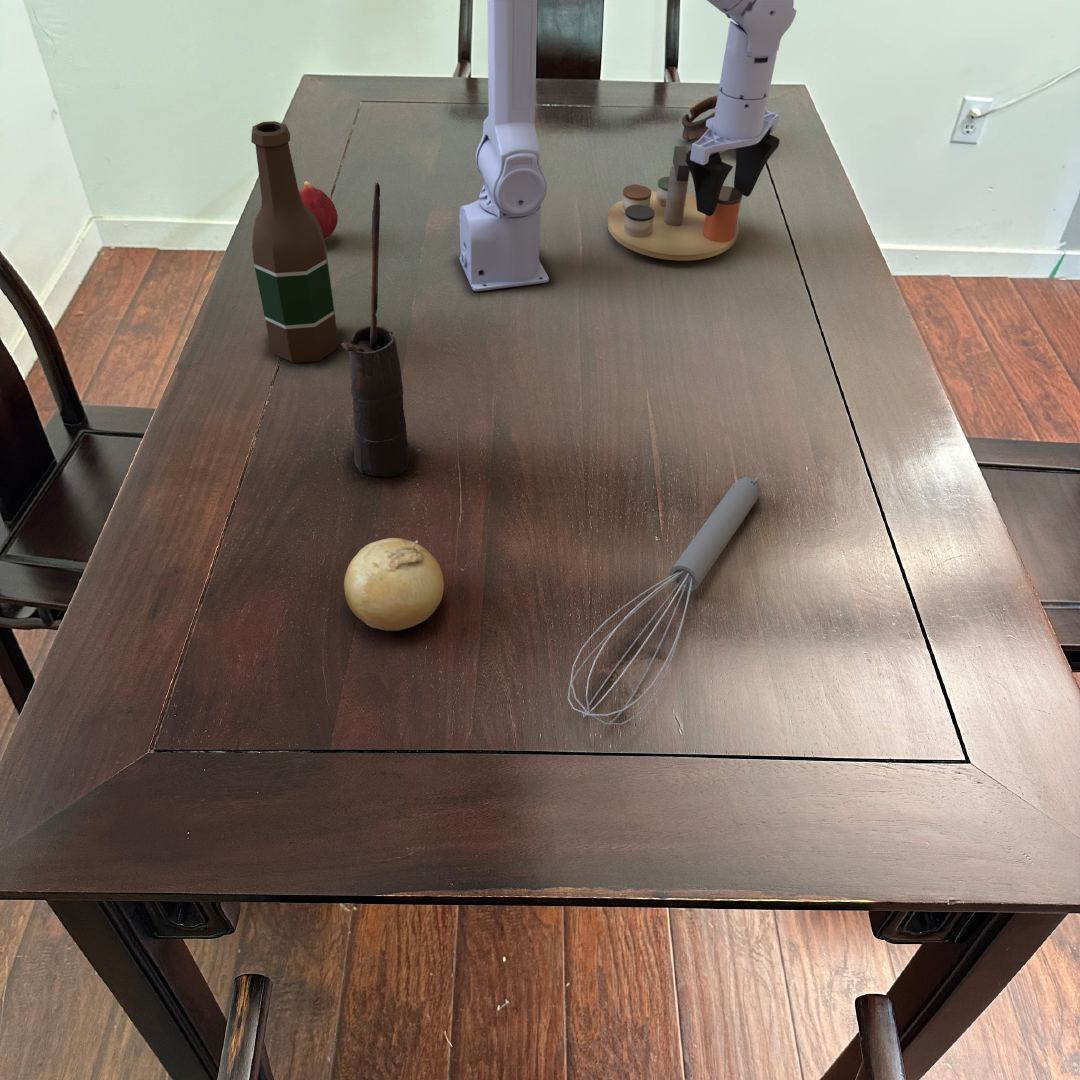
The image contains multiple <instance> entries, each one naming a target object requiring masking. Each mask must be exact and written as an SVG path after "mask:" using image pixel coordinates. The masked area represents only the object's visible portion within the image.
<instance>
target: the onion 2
mask: <svg viewBox="0 0 1080 1080" xmlns="http://www.w3.org/2000/svg"><path fill="white" fill-rule="evenodd" d="M418 543H419V541H418V539H416V540H414V541H411V540H408V539H406V538H401V537H388V538H384V539H380V540H376V541H373V542H370V543H368V544H366V545H365V546H363V547H362V548H361V549H360V550H359V551H358V552H357V553H356V555H354V557H352V559H351V560H350V562H349V564H348V566H347V569H346V572H345V574H344V580H343V581H344V582H343V589H344V596H345V600H346V602H347V605H348V607H349V609H350V610H351V612H352V614H354V615H355V616H356V617H357V618H358V619H359V620H361V622H363V623H365V625H366V626H368V627H370V628H372V629H375V630H376V629H377V630H381V631H386V632H398V631H399V632H400V631H402V630H407V629H410V628H412V627H415V626H417V625H419V624H421V623H423V622H424V621H427V620H428V618H430V617H431V616H432V615H433V614H434V612H435V611H436V610H437V609H438V607H439V605H440V603H441V602H442V598H443V595H444V589H445V585H444V584H445V581H444V575H443V572H442V569H441V566H440V565H439V563H438V561H437V560H436V558H435V557H434V556H433V555H432V554H431V553H430V552H429V551H428V550H427V549H426V548H425V547H423V546H422V545H420V544H418Z"/></svg>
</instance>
